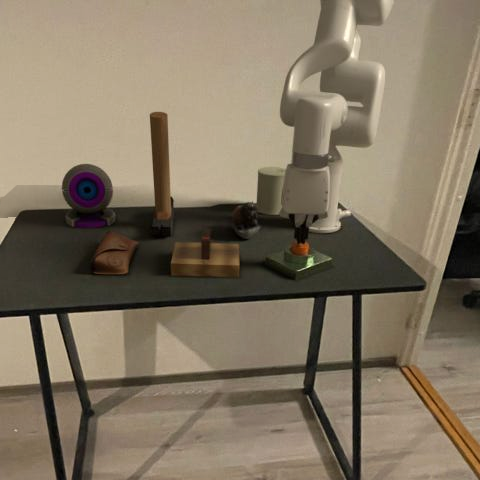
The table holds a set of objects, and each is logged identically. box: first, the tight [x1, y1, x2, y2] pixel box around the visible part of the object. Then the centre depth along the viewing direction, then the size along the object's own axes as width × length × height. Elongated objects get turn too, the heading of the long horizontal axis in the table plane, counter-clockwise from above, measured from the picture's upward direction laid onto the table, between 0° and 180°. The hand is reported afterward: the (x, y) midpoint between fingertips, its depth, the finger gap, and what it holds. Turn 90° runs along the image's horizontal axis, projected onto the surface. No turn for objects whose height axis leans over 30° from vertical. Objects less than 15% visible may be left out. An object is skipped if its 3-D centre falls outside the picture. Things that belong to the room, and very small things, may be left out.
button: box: [291, 240, 310, 254], centre depth 123 cm, size 4×4×2 cm
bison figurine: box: [232, 201, 261, 240], centre depth 138 cm, size 12×7×10 cm, turn 12°
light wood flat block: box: [170, 241, 240, 278], centre depth 123 cm, size 15×12×3 cm
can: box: [255, 166, 286, 216], centre depth 156 cm, size 9×9×12 cm
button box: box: [264, 244, 333, 280], centre depth 124 cm, size 12×10×4 cm
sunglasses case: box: [89, 229, 140, 276], centre depth 124 cm, size 18×7×7 cm
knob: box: [201, 228, 212, 259], centre depth 121 cm, size 7×2×5 cm, turn 1°
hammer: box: [149, 111, 175, 236], centre depth 134 cm, size 20×5×30 cm, turn 4°
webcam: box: [61, 163, 116, 229], centre depth 142 cm, size 13×13×15 cm
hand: (300, 241), depth 122 cm, fingers closed
